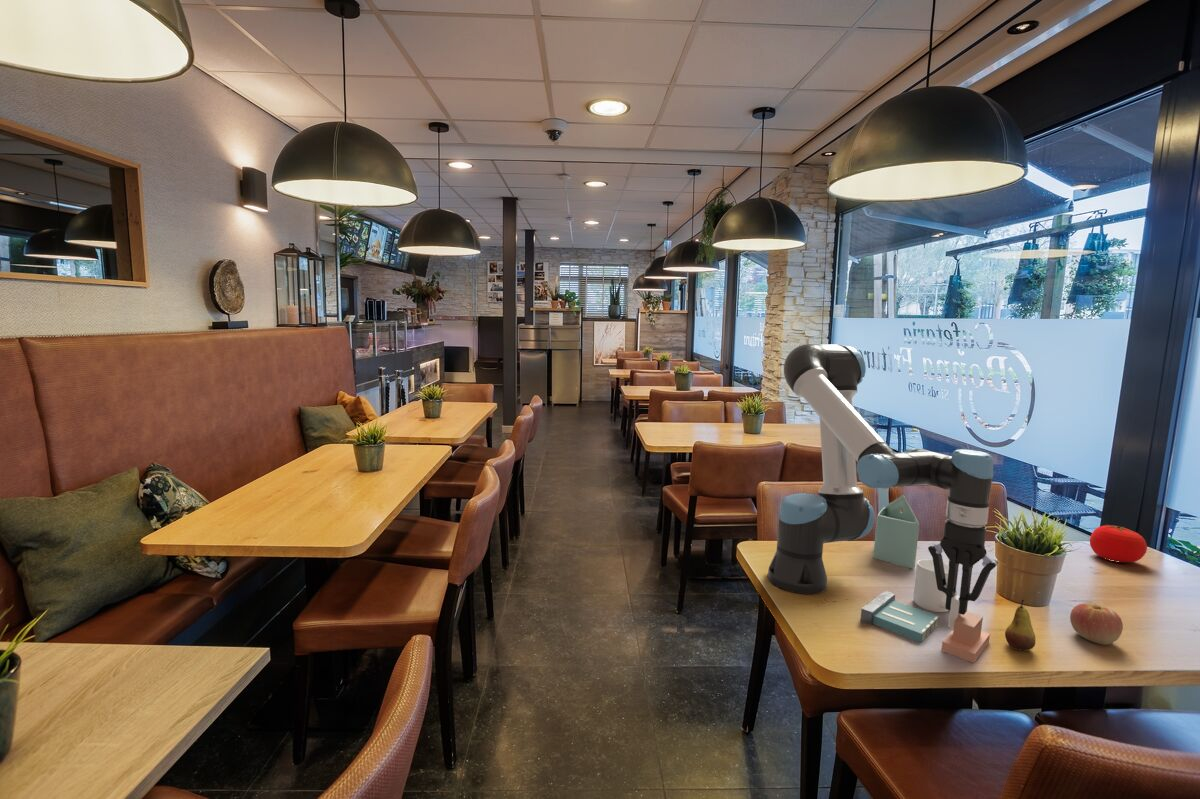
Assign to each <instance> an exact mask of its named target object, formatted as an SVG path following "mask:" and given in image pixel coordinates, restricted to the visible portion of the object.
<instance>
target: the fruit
mask: <svg viewBox="0 0 1200 799" xmlns="http://www.w3.org/2000/svg"><path fill="white" fill-rule="evenodd" d="M1020 602H1021V604H1020V605H1019V606H1017V608H1016V610H1015V613H1014V616H1013V619H1012V621H1011V623H1010V624H1009V625H1008V626H1007V627H1006V629H1005V631H1004V637H1005V639H1006V642H1007V643H1008V645H1009V646H1010V647H1011V648H1013V650H1017V651H1018V650H1019V651H1030V650H1032V649H1033V648H1034V647H1035V645H1036V633H1035V631H1034V627H1033V624H1032V621H1031V616H1030V613H1029V612H1028V609H1027V608H1026V607H1025V606H1023V604H1024V602H1025V600H1024V599H1021V601H1020Z"/></svg>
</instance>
